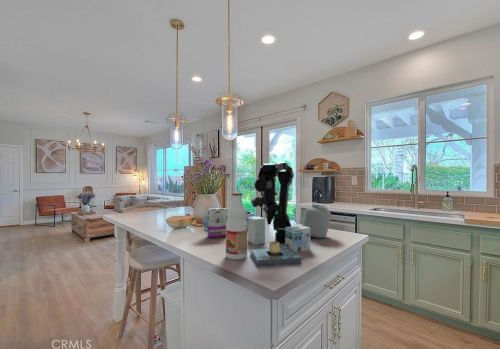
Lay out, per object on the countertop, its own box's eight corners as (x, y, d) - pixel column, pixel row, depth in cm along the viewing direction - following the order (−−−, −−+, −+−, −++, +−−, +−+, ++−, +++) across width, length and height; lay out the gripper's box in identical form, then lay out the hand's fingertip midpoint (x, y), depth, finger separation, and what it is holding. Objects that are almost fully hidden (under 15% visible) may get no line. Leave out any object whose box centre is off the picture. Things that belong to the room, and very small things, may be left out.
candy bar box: (226, 235, 142) (226, 207, 142) (227, 237, 137) (227, 208, 137) (207, 236, 139) (207, 208, 139) (207, 238, 134) (208, 209, 135)
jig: (288, 252, 110) (288, 247, 110) (300, 263, 96) (301, 257, 96) (250, 254, 106) (250, 249, 106) (257, 266, 93) (257, 260, 93)
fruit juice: (248, 260, 100) (248, 193, 100) (225, 260, 99) (226, 193, 99) (246, 252, 109) (246, 192, 109) (225, 253, 108) (226, 192, 108)
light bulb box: (293, 253, 109) (293, 229, 109) (284, 249, 115) (284, 226, 115) (311, 249, 114) (311, 227, 114) (301, 246, 120) (301, 224, 120)
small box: (265, 243, 125) (265, 218, 125) (254, 244, 122) (254, 219, 122) (258, 239, 132) (258, 216, 132) (247, 240, 130) (247, 216, 130)
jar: (334, 235, 144) (334, 193, 144) (335, 241, 130) (335, 195, 130) (302, 232, 149) (302, 192, 149) (300, 238, 135) (300, 194, 135)
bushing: (277, 257, 104) (277, 240, 104) (280, 260, 99) (281, 243, 99) (268, 257, 103) (268, 241, 103) (270, 261, 99) (270, 244, 99)
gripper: (248, 189, 118) (248, 221, 118) (256, 192, 99) (256, 229, 99) (270, 189, 120) (270, 220, 120) (282, 192, 102) (281, 228, 101)
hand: (269, 224), depth 110 cm, fingers closed
